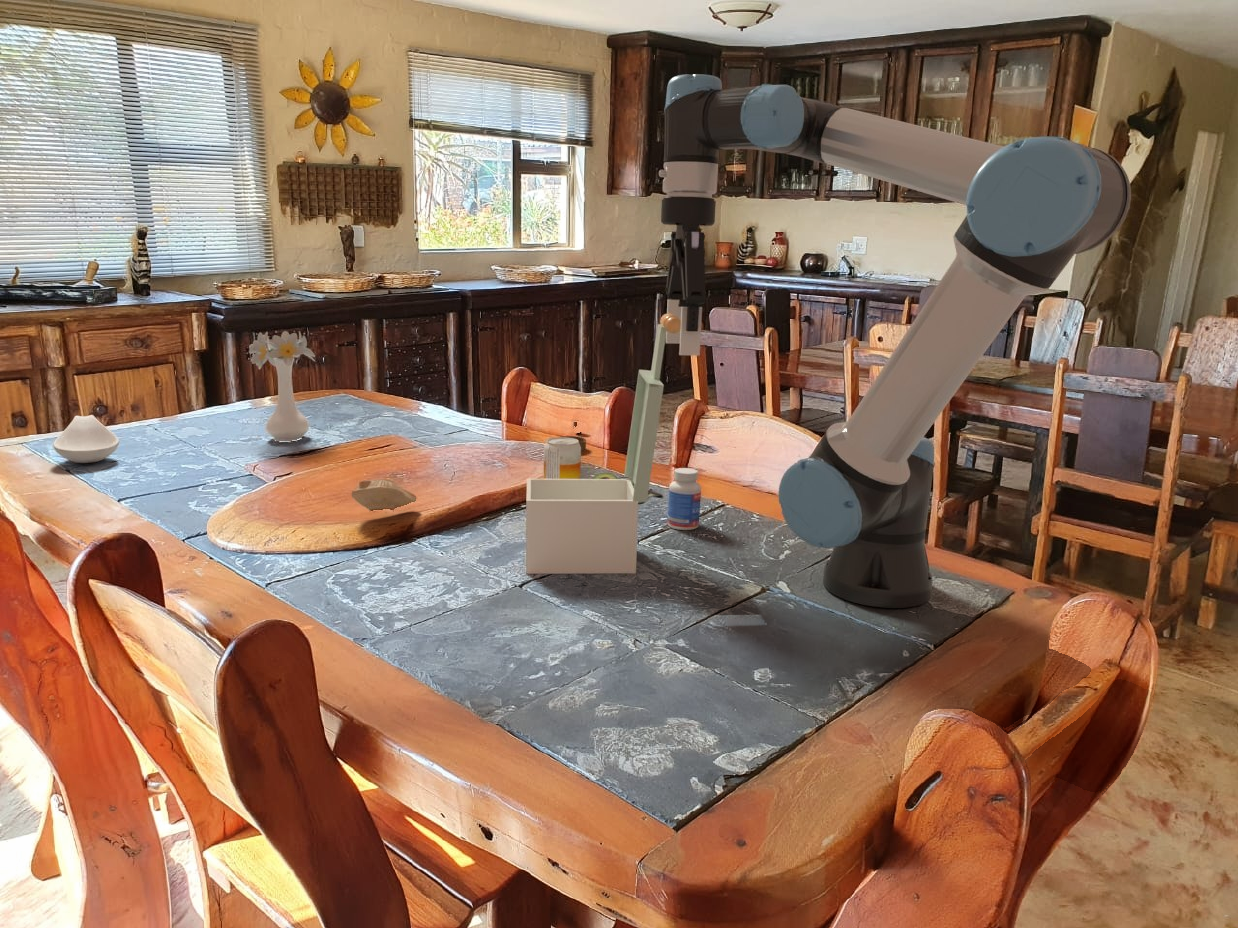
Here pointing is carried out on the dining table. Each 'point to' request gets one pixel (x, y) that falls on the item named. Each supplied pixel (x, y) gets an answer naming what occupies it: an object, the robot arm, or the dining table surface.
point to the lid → (647, 414)
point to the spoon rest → (86, 441)
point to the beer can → (562, 458)
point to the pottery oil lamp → (381, 495)
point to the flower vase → (283, 382)
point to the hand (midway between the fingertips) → (681, 349)
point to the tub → (581, 526)
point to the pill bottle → (684, 500)
